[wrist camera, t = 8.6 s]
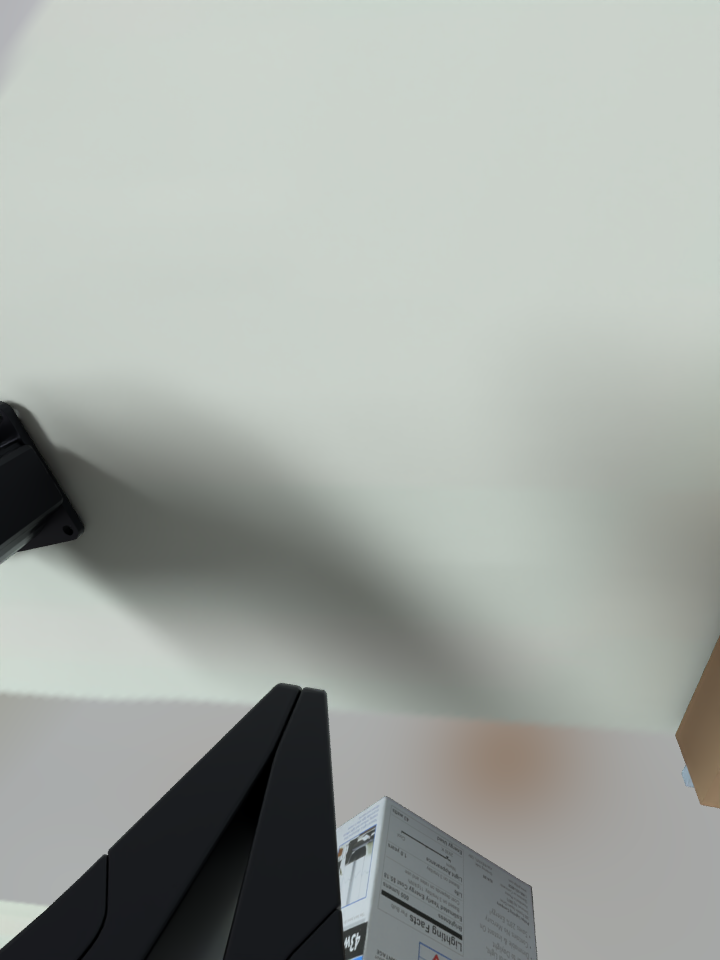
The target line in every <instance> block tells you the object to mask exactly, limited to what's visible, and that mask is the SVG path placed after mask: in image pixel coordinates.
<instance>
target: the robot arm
mask: <svg viewBox="0 0 720 960" xmlns="http://www.w3.org/2000/svg"><path fill="white" fill-rule="evenodd" d="M0 414H1V415H2V417H1V416H0V564H1V563H3V562H4V561H5V560H7V559H8V558H9V557H10V556H12V555H13V554H14V553H15V552H20V551H24V550H29V549H34V548H38V547H43V546H48V545H52V544H57V543H62V542H66V541H71V540H75V539H77V538H78V537H79V536H80V535H81V534H82V533H83V532H84V526H83V524H82V522H81V520H80V519H79V517H78V515H77V514H76V512H75V511H74V509H73V507H72V506H71V504H70V502H69V501H68V499H67V497H66V496H65V494H64V493H63V491H62V489H61V488H60V486H59V484H58V483H57V481H56V479H55V478H54V476H53V474H52V473H51V471H50V470H49V468H48V466H47V465H46V463H45V461H44V460H43V458H42V456H41V455H40V453H39V452H38V450H37V448H36V447H35V445H34V443H33V442H32V440H31V438H30V437H29V435H28V433H27V432H26V430H25V429H24V427H23V425H22V424H21V422H20V420H19V419H18V417H17V415H16V414H15V412H14V411H13V409H12V408H11V407H10V406H9V405H8V404H7V403H5V402H2V401H0ZM70 527H71V528H72V529H73V530H72V529H71V528H70ZM329 734H330V733H329V718H328V704H327V693H326V692H325V691H324V690H320V689H314V688H309V687H305V688H303V690H302V688H301V687H300V686H297V685H291V684H286V683H279V684H277V685H276V686H275V687H274V688H273V689H272V690H271V691H270V692H269V693H267V694H266V695H265V696H264V697H263V698H262V699H261V700H260V701H259V702H258V703H257V704H256V705H255V706H254V707H253V708H252V709H251V710H250V711H249V712H248V713H247V714H246V715H245V716H244V717H243V718H242V719H241V720H240V721H239V722H238V723H237V724H236V725H235V726H234V727H233V728H232V729H231V730H230V731H229V732H228V733H227V734H226V735H225V736H224V737H223V738H222V739H221V740H220V741H219V742H218V743H217V744H216V745H215V746H214V747H213V748H212V749H211V750H210V751H209V752H208V753H207V754H206V755H205V756H204V757H203V758H202V759H200V760H199V762H197V763H196V764H195V765H194V766H193V767H192V768H191V770H189V771H188V772H187V773H186V774H185V775H184V776H183V777H182V778H181V779H180V780H179V781H178V782H177V783H176V784H175V785H174V786H173V787H172V788H171V789H170V790H169V791H168V792H167V793H166V794H165V795H164V796H163V797H162V798H161V799H160V800H159V801H158V802H157V803H156V804H155V805H154V806H153V807H152V808H151V809H150V810H149V811H148V812H147V813H146V814H145V815H144V816H143V817H142V818H141V819H140V820H138V821H137V823H135V824H134V825H133V827H131V828H130V829H129V830H128V831H127V832H126V833H125V834H124V835H123V836H122V837H121V838H120V839H119V840H118V841H117V842H116V843H115V844H114V845H113V846H112V847H111V848H110V849H109V851H108V855H106V854H104V855H103V856H102V857H101V858H100V859H99V860H97V862H96V863H94V864H93V866H91V867H90V868H89V870H87V872H85V874H83V875H82V876H81V877H80V878H79V879H78V880H77V881H76V882H75V883H74V884H73V885H72V886H71V887H70V888H69V889H68V890H67V891H66V892H64V894H62V895H61V896H60V897H59V898H58V899H57V900H56V901H55V902H54V903H53V904H52V905H51V906H50V907H49V908H47V909H46V910H45V911H44V912H43V913H42V914H41V915H40V916H38V917H37V918H36V919H35V920H34V921H33V922H32V923H30V924H29V925H28V926H27V927H26V928H25V929H23V930H22V931H21V932H20V933H19V934H18V935H17V936H15V937H14V938H13V939H12V940H11V941H10V942H8V943H7V944H6V945H5V946H4V947H3V948H2V949H0V960H346V956H345V946H344V933H343V918H342V911H341V893H340V879H339V864H338V850H337V835H336V821H335V806H334V792H333V777H332V762H331V748H330V735H329Z"/></svg>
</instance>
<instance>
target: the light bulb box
mask: <svg viewBox="0 0 720 960" xmlns="http://www.w3.org/2000/svg"><path fill="white" fill-rule="evenodd" d="M336 835H337V850H338V864H339V879H340V893H341V911H342V918H343V933H344V946H345V956H346V960H538V959H537V947H536V936H535V923H534V910H533V896H532V887H531V886H530V885H528V884H526V883H524V882H523V881H521V880H519V879H518V878H516V877H514V876H513V875H511V874H510V873H508V872H507V871H505V870H503V869H502V868H500V867H498V866H497V865H496V864H494V863H492V862H491V861H489V860H488V859H486V858H484V857H483V856H481V855H480V854H478V853H476V852H475V851H473V850H472V849H470V848H469V847H467V846H465V845H464V844H462V843H461V842H459V841H457V840H456V839H454V838H453V837H451V836H449V835H448V834H446V833H445V832H443V831H442V830H440V829H438V828H437V827H435V826H433V825H432V824H430V823H429V822H427V821H425V820H424V819H422V818H421V817H419V816H418V815H416V814H414V813H413V812H411V811H409V810H408V809H406V808H405V807H403V806H402V805H400V804H398V803H397V802H395V801H394V800H392V799H391V798H389V797H387V796H386V797H383V798H382V799H380V800H379V801H377V802H376V803H374V804H373V805H371V806H370V807H368V808H367V809H365V810H364V811H362V812H361V813H359V814H358V815H356V816H355V817H353V818H352V819H350V820H349V821H347V822H346V823H344V824H343V825H341V826H340V827H338V828H337V829H336Z"/></svg>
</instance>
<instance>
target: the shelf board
mask: <svg viewBox="0 0 720 960" xmlns="http://www.w3.org/2000/svg"><path fill="white" fill-rule="evenodd" d="M675 736H676V739H677V741H678V744H679V747H680V749H681V752H682V755H683V758H684V761H685V763H686V766H687V769H688V771H689V774H690V777H691V780H692V782H693V785H694V788H695V791H696V793H697V796H698V799H699V801H700V804H701V805H705V806H710V807H716V808H720V636H719V638H718V640H717V643H716V645H715V647H714V649H713V652H712V654H711V656H710V658H709V661H708V663H707V665H706V667H705V670H704V672H703V674H702V676H701V679H700V681H699V683H698V685H697V688H696V690H695V692H694V694H693V697H692V699H691V701H690V703H689V705H688V708H687V710H686V712H685V714H684V717H683V719H682V721H681V723H680V726H679V728H678V730H677V732H676V735H675Z"/></svg>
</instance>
